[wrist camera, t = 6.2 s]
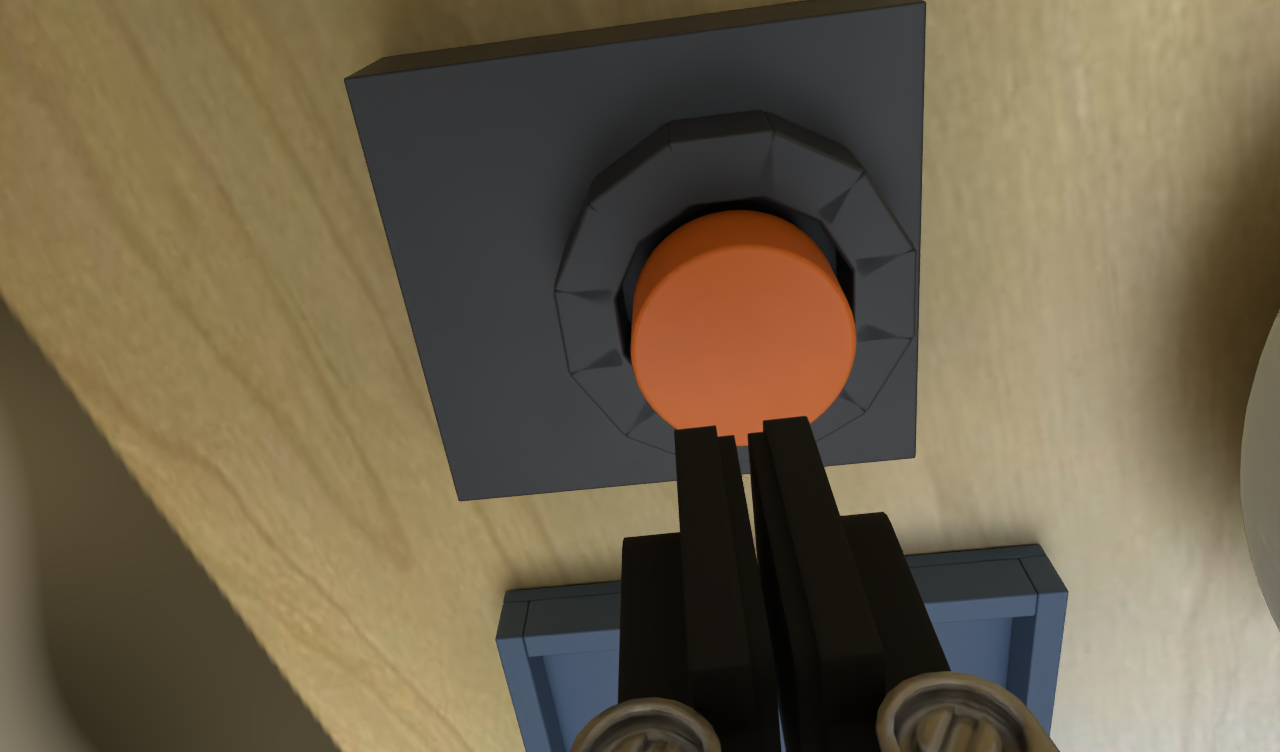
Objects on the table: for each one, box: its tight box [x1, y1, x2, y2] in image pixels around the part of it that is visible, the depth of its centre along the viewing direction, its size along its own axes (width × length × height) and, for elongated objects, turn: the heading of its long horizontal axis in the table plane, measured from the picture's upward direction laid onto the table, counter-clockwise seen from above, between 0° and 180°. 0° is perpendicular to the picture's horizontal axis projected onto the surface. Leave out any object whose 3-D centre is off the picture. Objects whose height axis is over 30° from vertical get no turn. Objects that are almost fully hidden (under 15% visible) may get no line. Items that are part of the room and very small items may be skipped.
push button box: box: [344, 0, 926, 501], centre depth 19 cm, size 11×10×4 cm
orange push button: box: [631, 210, 856, 446], centre depth 16 cm, size 4×4×2 cm
